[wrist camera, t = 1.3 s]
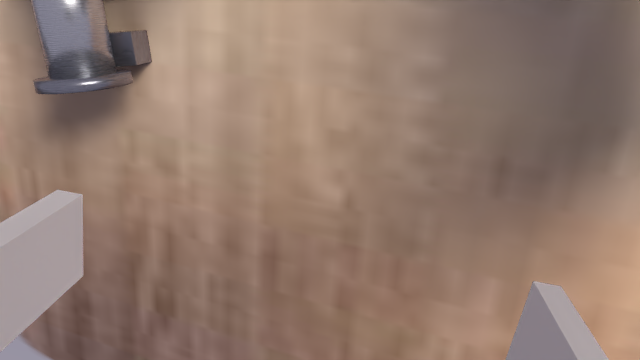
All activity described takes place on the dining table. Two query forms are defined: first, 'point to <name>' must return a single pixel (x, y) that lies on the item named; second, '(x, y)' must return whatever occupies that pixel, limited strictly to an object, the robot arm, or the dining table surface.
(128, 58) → the grey metal parts
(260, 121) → the dining table surface
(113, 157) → the dining table surface
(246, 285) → the dining table surface
